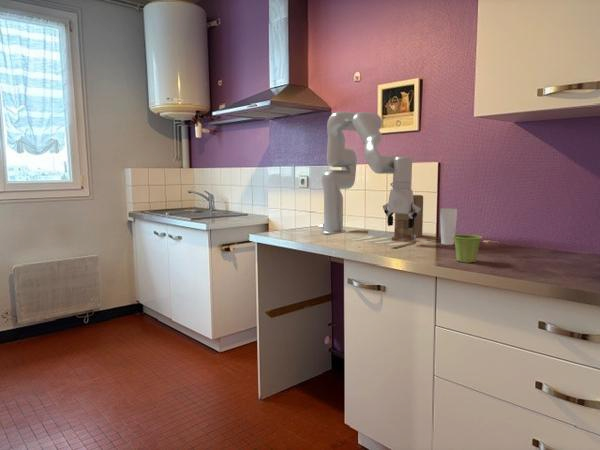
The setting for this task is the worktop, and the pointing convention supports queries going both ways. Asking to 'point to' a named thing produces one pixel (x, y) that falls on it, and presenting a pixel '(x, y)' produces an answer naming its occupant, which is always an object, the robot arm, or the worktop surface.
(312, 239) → the worktop surface
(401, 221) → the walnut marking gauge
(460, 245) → the plant pot
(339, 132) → the robot arm
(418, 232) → the wooden block
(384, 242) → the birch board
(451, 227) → the drinking glass
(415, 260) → the worktop surface
